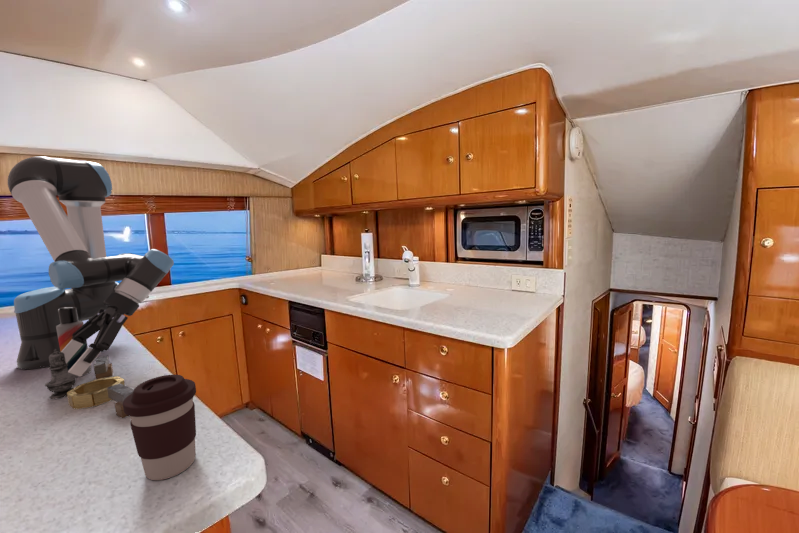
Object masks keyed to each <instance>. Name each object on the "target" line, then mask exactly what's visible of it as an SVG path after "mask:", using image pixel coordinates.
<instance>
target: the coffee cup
mask: <svg viewBox="0 0 799 533" xmlns="http://www.w3.org/2000/svg"><path fill="white" fill-rule="evenodd" d="M133 389H134V391H133V393H132V394H130V395H129V396H127V397H126V398H125V400H124V401H123V409H124V413H125V414H126V415H128V416H127V417H129V418H130V422H129V426H130V428H131V433H132V437H133V440H134V444H135V447H136V452H137V456H139V458H140V461H141V465H142V469H143V472H144V475H145V477H146V478H147V479H149V480H152V481H162V480H163V481H164V480H166V479H171V478H174V477H176V476H178V475H180V474H181V473H183V472H185V471H186V470H187V469H188V468H190V466H191V465H193V463H194V461H195V460H196V455H197V454H196V451H197V450H196V436H197V429H196V428H197V427H196V425H197V424H196V407H195V406H196V405H195V402H194V397H195V395H196V393H197V387H196V383H195V381H193V380H192V379H188V378H184V376H183V375H182V374H164V375H159V376H156V377H153V378H149V379H148V380H145V381H143V382H141V383H139V384H138V385H136V386H135V387H134V388H133Z"/></svg>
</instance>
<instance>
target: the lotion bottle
mask: <svg viewBox="0 0 799 533" xmlns="http://www.w3.org/2000/svg"><path fill="white" fill-rule="evenodd" d="M58 314H59V319H60V324H59V325H57V326H56V329H57V335H58V341H59V346H60V351H62V350H63V349H64V348H65V346H66V345H67V344H68V343H69V342H70V341H71V340H72V338H73V336H72V334H73V333H74V332H75V331H77V330H78V329H79V328H80V327H81V326H82V325H83V324H85V323H84V321H78V315H77V309H76V308H75V307H64V308H59V310H58ZM87 340H88V339H87ZM87 340H86V343H85V344H83V343H82V344H83V345H82V346H81V347H80V349H79V350H78V351H77V352H76V353H75V354H74V355H73V357H72V358H71V359H70V360H69V361H68V362H67V364H68V365H67V369H68V371H69V370H70V369H71V367H72V366H73V365H74V364H75V363H76V362H77V360H78V359H79V358H80V357H81V356H82V355H83V353H84V352H85V351H86V350H87V349H88V348H89V344H88V341H87ZM80 343H81V342H80ZM91 372H92V364H91V365H90V366H89V367H88V368H87V370H86V371H85V372H84V373H83V374H82V376H81V377H83V376H85V375H88V374H90V373H91ZM68 373H69V372H68ZM69 374H70V375H71V376H77V375H74V374H72V373H69ZM77 378H80V376H77Z"/></svg>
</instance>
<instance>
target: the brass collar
mask: <svg viewBox="0 0 799 533" xmlns="http://www.w3.org/2000/svg"><path fill="white" fill-rule="evenodd" d="M119 383H120V384H123V385H125V386H126V384H125V379H124V378H123V377H121V376H119V375H117V376H116V375H115V376H109V377H105V378H100V379H96V378H95V379H93V380H90V381H88V382H87V381H86V382H84V383H81V384H78V385H76V386H75V387H72V388H73V389H72V390H70V391H69V392H67V402H68V406H69V407H70V408H72V409H73V410H78V409H79V410H80V409H87V408H94V407H98V406H100V405H102V404H106V403H108V402H111V401H113V400H112V399H110V398H109V397H108V391H107V388H108V387H111V386H113V385H116V384H119Z"/></svg>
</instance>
